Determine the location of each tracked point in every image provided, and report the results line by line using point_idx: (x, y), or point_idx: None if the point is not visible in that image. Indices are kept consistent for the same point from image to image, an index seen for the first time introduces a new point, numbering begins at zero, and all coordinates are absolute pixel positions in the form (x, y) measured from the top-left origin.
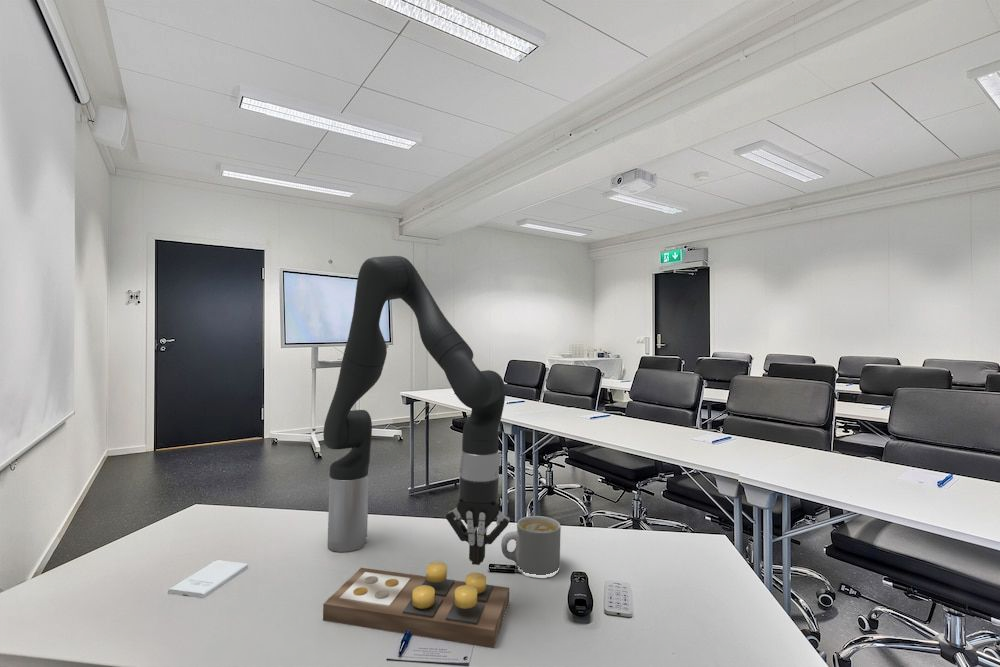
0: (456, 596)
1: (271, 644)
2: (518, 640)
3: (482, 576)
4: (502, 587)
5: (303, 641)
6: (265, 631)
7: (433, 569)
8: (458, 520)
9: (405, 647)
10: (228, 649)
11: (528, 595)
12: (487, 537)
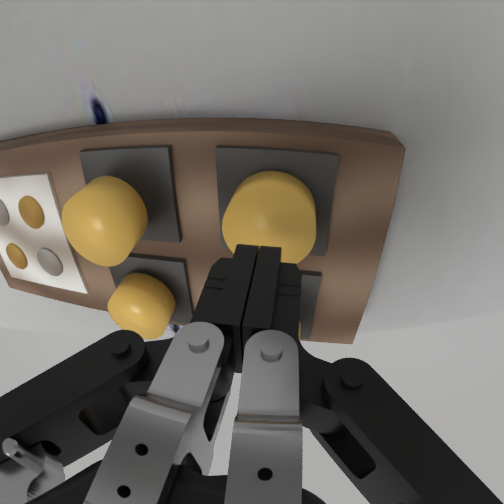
0: None
1: (29, 313)
2: (406, 287)
3: (296, 218)
4: (377, 150)
5: (47, 309)
6: (5, 293)
7: (95, 250)
8: (48, 439)
9: None
10: (12, 319)
11: (452, 80)
12: (314, 430)
